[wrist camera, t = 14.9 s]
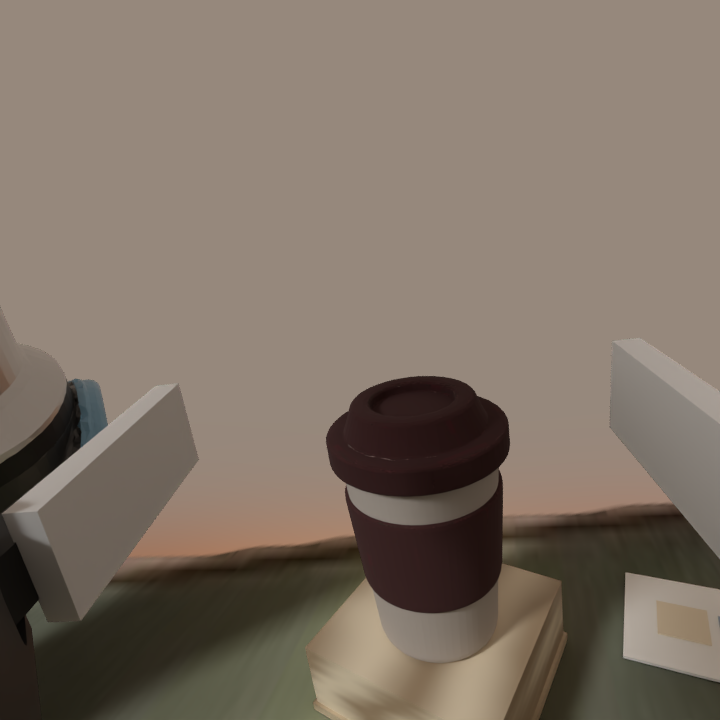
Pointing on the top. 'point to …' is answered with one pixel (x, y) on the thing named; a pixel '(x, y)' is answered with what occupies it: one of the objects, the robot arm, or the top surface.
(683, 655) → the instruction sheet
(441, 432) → the coffee cup
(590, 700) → the top surface
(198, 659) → the top surface
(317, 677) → the tan flat block
